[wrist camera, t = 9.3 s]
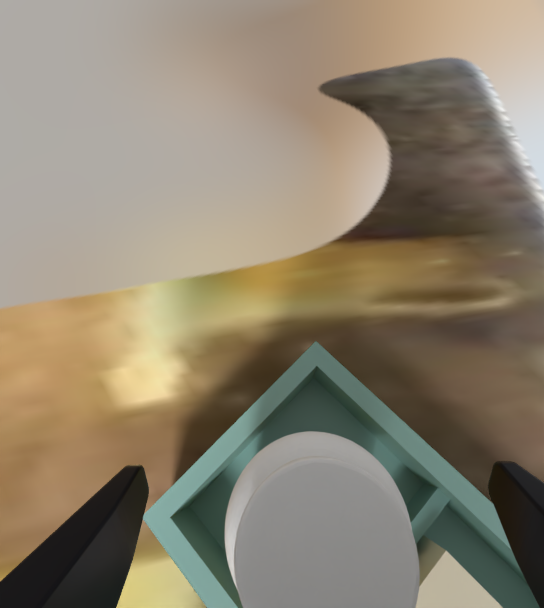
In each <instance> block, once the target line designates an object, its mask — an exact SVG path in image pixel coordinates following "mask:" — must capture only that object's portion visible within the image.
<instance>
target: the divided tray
mask: <svg viewBox="0 0 544 608" xmlns="http://www.w3.org/2000/svg"><path fill="white" fill-rule="evenodd" d="M306 431H317V432H325V433H330V434H335V435H338V436H341V437H344V438H346V439H348V440H351V441H353V442H354V443H356V444H358V445H359V446H361V447H363V448H364V449H365V450H367V451H368V452H369V453H370V454H372V455H373V456H374V457H375V458H376V459H377V460H378V461H379V462H380V463H381V464H382V465H383V467H384V468H385V469H386V470H387V471H388V473H389V474H390V476H391V477H392V479H393V480H394V482H395V484H396V485H397V487H398V489H399V491H400V493H401V495H402V497H403V500H404V502H405V505H406V507H407V511H408V514H409V518H410V522H411V527H412V533H413V536H414V539H415V543H416V544H417V543H418V541H419V540H420V539H421V537H422V536H423V535H424V536H425V537H427V538H428V539H430V540H431V541H433V542H434V543H436V544H437V545H439V546H440V547H442V548H443V549H445V550H446V551H447V552H448V553H449V554H450V555H451V556H452V557H453V558H454V559H455V560H456V561H457V562H458V563H459V564H460V565H461V566H462V567H463V568H464V569H465V570H466V571H467V572H468V573H469V574H470V575H471V576H472V577H473V578H474V579H475V580H476V581H477V582H478V583H479V584H480V585H481V586H482V587H483V588H484V589H485V590H486V591H487V592H488V593H489V594H490V595H491V596H492V597H493V598H494V599H495V600H496V601H497V602H498V603H499V604H500V605H501V606H502V607H503V608H540V607H539V605H538V603H537V601H536V599H535V597H534V595H533V594H532V592H531V590H530V588H529V586H528V584H527V582H526V580H525V578H524V576H523V574H522V572H521V570H520V568H519V566H518V563H517V561H516V559H515V557H514V554H513V552H512V550H511V547H510V545H509V542H508V540H507V537H506V535H505V532H504V530H503V527H502V525H501V522H500V519H499V517H498V514H497V512H496V509H495V507H494V504H493V503H491V502H490V501H489V500H488V499H487V498H486V497H485V496H484V495H483V494H482V493H481V492H480V491H478V490H477V489H476V488H475V487H474V486H473V485H472V484H471V483H470V482H469V481H468V480H466V479H465V478H464V477H463V476H462V475H461V474H460V473H459V472H458V471H457V470H456V469H455V468H453V467H452V466H451V465H450V464H449V463H448V462H447V461H446V460H445V459H444V458H443V457H441V456H440V455H439V454H438V453H437V452H436V451H435V450H434V449H433V448H432V447H431V446H430V445H428V444H427V443H426V442H425V441H424V440H423V439H422V438H421V437H420V436H419V435H418V434H416V433H415V432H414V431H413V430H412V429H411V428H410V427H409V426H408V425H407V424H406V423H405V422H403V421H402V420H401V419H400V418H399V417H398V416H397V415H396V414H395V413H394V412H393V411H391V410H390V409H389V408H388V407H387V406H386V405H385V404H384V403H383V402H382V401H381V400H380V399H378V398H377V397H376V396H375V395H374V394H373V393H372V392H371V391H370V390H369V389H368V388H366V387H365V386H364V385H363V384H362V383H361V382H360V381H359V380H358V379H357V378H356V377H355V376H353V375H352V374H351V373H350V372H349V371H348V370H347V369H346V368H345V367H344V366H343V365H341V364H340V363H339V362H338V361H337V360H336V359H335V358H334V357H333V356H332V355H331V354H330V353H328V352H327V351H326V350H325V349H324V348H323V347H322V346H321V345H320V344H319V343H318V342H317V341H315V342H314V343H313V344H312V345H311V346H310V347H309V348H308V349H307V350H306V351H305V352H304V353H303V354H302V355H301V356H300V357H299V358H298V360H297V361H296V362H295V363H294V364H293V365H292V366H291V367H290V368H289V369H288V370H287V371H286V372H285V373H284V374H283V375H282V376H281V377H280V378H279V379H278V380H277V381H276V382H275V383H274V384H273V385H272V386H271V387H270V388H269V389H268V390H267V391H266V392H265V393H264V394H263V395H262V396H261V397H260V398H259V399H258V400H257V401H256V402H255V403H254V404H253V405H252V406H251V407H250V408H249V409H248V410H247V411H246V412H245V413H244V414H243V415H242V416H241V417H240V418H239V419H238V420H237V421H236V422H235V423H234V424H233V425H232V426H231V427H230V428H229V429H228V430H227V431H226V432H225V433H224V434H223V435H222V436H221V437H220V438H219V439H218V440H217V441H216V442H215V443H214V444H213V445H212V446H211V447H210V448H209V449H208V450H207V451H206V452H205V453H204V454H203V455H202V456H201V457H200V458H199V459H198V460H197V461H196V462H195V463H194V464H193V465H192V466H191V467H190V469H189V470H188V471H187V472H186V473H185V474H184V475H183V476H182V477H181V478H180V479H179V480H178V481H177V482H176V483H175V484H174V485H173V486H172V487H171V488H170V489H169V490H168V491H167V492H166V493H165V494H164V495H163V496H162V497H161V498H160V499H159V500H158V501H157V502H156V503H155V504H154V505H153V506H152V507H151V508H150V509H149V510H148V511H147V512H146V513H145V514H144V516H143V520H144V521H145V522H146V524H147V525H148V527H149V528H150V529H151V531H152V532H153V533H154V535H155V536H156V538H157V539H158V540H159V542H160V543H161V544H162V546H163V547H164V549H165V550H166V551H167V553H168V554H169V555H170V557H171V558H172V560H173V561H174V562H175V564H176V565H177V567H178V568H179V569H180V571H181V572H182V573H183V575H184V576H185V578H186V579H187V580H188V582H189V583H190V584H191V586H192V587H193V589H194V590H195V591H196V593H197V594H198V595H199V597H200V598H201V600H202V601H203V602H204V604H205V605H206V607H207V608H243V606H242V603H241V601H240V598H239V594H238V590H237V588H236V586H235V584H234V581H233V578H232V575H231V572H230V569H229V565H228V561H227V555H226V549H225V519H226V513H227V508H228V504H229V500H230V497H231V494H232V491H233V488H234V486H235V484H236V482H237V480H238V478H239V476H240V475H241V473H242V471H243V470H244V468H245V467H246V466H247V464H248V463H249V462H250V461H251V459H252V458H253V457H254V456H255V455H256V454H257V453H258V452H260V451H261V450H262V449H263V448H265V447H266V446H267V445H269V444H270V443H272V442H274V441H276V440H278V439H280V438H282V437H284V436H287V435H290V434H294V433H299V432H306Z"/></svg>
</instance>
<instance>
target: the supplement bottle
mask: <svg viewBox="0 0 544 608" xmlns="http://www.w3.org/2000/svg"><path fill="white" fill-rule="evenodd" d="M225 549H226V555H227V561H228V565H229V569H230V572H231V575H232V578H233V581H234V584H235V586H236V588H237V590H238V594H239V598H240V601H241V603H242V606H243V608H416V603H417V598H418V592H419V580H420V569H419V558H418V552H417V547H416V543H415V539H414V536H413V533H412V527H411V522H410V518H409V514H408V511H407V507H406V505H405V502H404V500H403V497H402V495H401V493H400V491H399V489H398V487H397V485H396V484H395V482H394V480H393V479H392V477H391V476H390V474H389V473H388V471H387V470H386V469H385V468H384V467H383V465H382V464H381V463H380V462H379V461H378V460H377V459H376V458H375V457H374V456H373V455H372V454H370V453H369V452H368V451H367V450H365V449H364V448H363V447H361V446H359V445H358V444H356V443H354V442H353V441H351V440H348V439H346V438H344V437H341V436H338V435H335V434H330V433H325V432H317V431H306V432H299V433H294V434H290V435H287V436H284V437H282V438H280V439H278V440H276V441H274V442H272V443H270V444H269V445H267V446H266V447H265V448H263V449H262V450H261V451H260V452H258V453H257V454H256V455H255V456H254V457H253V458H252V459H251V461H250V462H249V463H248V464H247V466H246V467H245V468H244V470H243V471H242V473H241V475H240V476H239V478H238V480H237V482H236V484H235V486H234V488H233V491H232V494H231V497H230V500H229V504H228V508H227V513H226V519H225Z"/></svg>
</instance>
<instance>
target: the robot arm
mask: <svg viewBox="0 0 544 608" xmlns="http://www.w3.org/2000/svg"><path fill="white" fill-rule="evenodd" d="M488 489H489V494H490V497H491V499H492V502H493V504H494V507H495V509H496V512H497V514H498V517H499V519H500V522H501V525H502V527H503V530H504V532H505V535H506V537H507V540H508V542H509V545H510V547H511V550H512V552H513V554H514V557H515V559H516V561H517V563H518V566H519V568H520V570H521V572H522V574H523V576H524V578H525V580H526V582H527V584H528V586H529V588H530V590H531V592H532V594H533V595H534V597H535V599H536V601H537V603H538V605H539V607H540V608H544V483H543V482H542V481H540V480H539V479H537V478H536V477H535V476H533V475H532V474H530V473H529V472H528V471H526V470H525V469H523V468H522V467H521V466H519V465H518V464H516V463H514V462H511V461H498V462H495V463H494V465H493V469H492V472H491V476H490V480H489V484H488ZM148 494H149V487H148V483H147V479H146V475H145V471H144V468H143V466H142V465H127V466H125V467H124V468H123V469H122V470H121V471H120V472H119V473H117V474H116V475H115V476H114V477H113V478H112V479H111V480H110V481H109V482H108V483H107V484H106V485H104V486H103V487H102V488H101V489H100V490H99V491H98V492H97V493H96V494H95V495H94V496H93V497H91V498H90V499H89V500H88V501H87V502H86V503H85V504H84V505H83V506H82V507H81V508H80V509H78V510H77V511H76V512H75V513H74V514H73V515H72V516H71V517H70V518H69V519H68V520H66V521H65V522H64V523H63V524H62V525H61V526H60V527H59V528H58V529H57V530H56V531H55V532H53V533H52V534H51V535H50V536H49V537H48V538H47V539H46V540H45V541H44V542H43V543H42V544H40V545H39V546H38V547H37V548H36V549H35V550H34V551H33V552H32V553H31V554H30V555H29V556H27V557H26V558H25V559H24V560H23V561H22V562H21V563H20V564H19V565H18V566H17V567H16V568H14V569H13V570H12V571H11V572H10V573H9V574H8V575H7V576H6V577H5V578H4V579H3V580H1V581H0V608H116V607H117V604H118V601H119V598H120V595H121V592H122V589H123V586H124V584H125V581H126V578H127V575H128V572H129V569H130V566H131V563H132V560H133V556H134V552H135V549H136V544H137V540H138V536H139V532H140V528H141V524H142V520H143V516H144V512H145V508H146V503H147V499H148Z"/></svg>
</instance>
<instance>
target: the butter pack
mask: <svg viewBox="0 0 544 608" xmlns="http://www.w3.org/2000/svg"><path fill="white" fill-rule="evenodd" d="M416 547H417V552H418V558H419V569H420V580H419V592H418V598H417V603H416V608H503V607H502V606H501V605H500V604H499V603H498V602H497V601H496V600H495V599H494V598H493V597H492V596H491V595H490V594H489V593H488V592H487V591H486V590H485V589H484V588H483V587H482V586H481V585H480V584H479V583H478V582H477V581H476V580H475V579H474V578H473V577H472V576H471V575H470V574H469V573H468V572H467V571H466V570H465V569H464V568H463V567H462V566H461V565H460V564H459V563H458V562H457V561H456V560H455V559H454V558H453V557H452V556H451V555H450V554H449V553H448V552H447V551H446V550H445V549H443V548H442V547H440V546H439V545H437V544H436V543H434V542H433V541H431V540H430V539H428V538H427V537H425V536H424V535H423V536H422V537H421V539H420V540H419V541H418V543H417V544H416Z"/></svg>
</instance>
